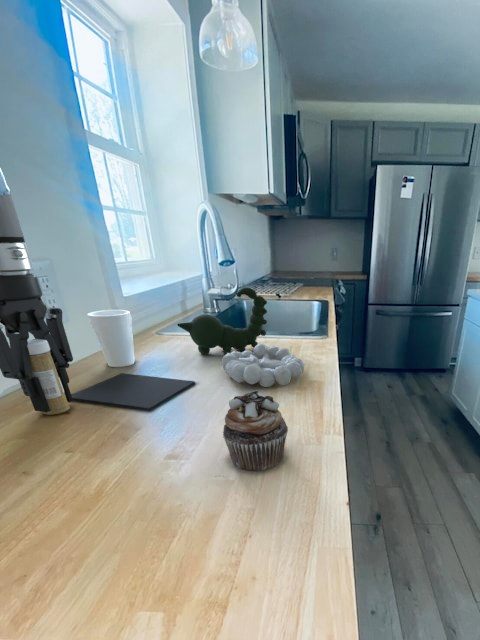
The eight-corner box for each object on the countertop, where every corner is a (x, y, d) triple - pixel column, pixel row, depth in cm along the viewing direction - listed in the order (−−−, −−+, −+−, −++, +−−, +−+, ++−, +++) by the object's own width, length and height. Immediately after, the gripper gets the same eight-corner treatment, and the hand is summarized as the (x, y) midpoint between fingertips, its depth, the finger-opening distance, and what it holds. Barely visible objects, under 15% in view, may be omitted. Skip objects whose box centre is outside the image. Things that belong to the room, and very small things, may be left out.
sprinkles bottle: (73, 405, 73) (51, 337, 66) (65, 414, 69) (40, 343, 63) (47, 407, 72) (22, 338, 65) (37, 416, 68) (9, 344, 61)
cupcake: (212, 461, 55) (203, 400, 51) (256, 436, 63) (252, 381, 58) (259, 482, 51) (253, 417, 46) (301, 453, 58) (300, 394, 53)
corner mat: (66, 399, 75) (65, 396, 75) (122, 375, 89) (121, 373, 89) (149, 411, 71) (149, 408, 71) (195, 383, 85) (195, 381, 84)
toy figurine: (259, 349, 118) (177, 350, 107) (260, 287, 110) (172, 281, 99) (269, 357, 111) (181, 359, 100) (271, 290, 103) (176, 284, 92)
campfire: (324, 373, 93) (324, 350, 90) (269, 398, 77) (268, 372, 75) (260, 358, 104) (258, 337, 101) (200, 378, 88) (197, 354, 85)
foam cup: (93, 366, 95) (78, 314, 89) (121, 357, 102) (109, 308, 96) (122, 370, 92) (108, 317, 86) (148, 360, 100) (138, 311, 94)
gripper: (-35, 278, 51) (27, 427, 62) (71, 270, 65) (105, 391, 76) (-75, 276, 52) (-8, 422, 63) (38, 268, 67) (76, 387, 78)
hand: (54, 405), depth 70 cm, fingers closed on sprinkles bottle, 4 cm apart
